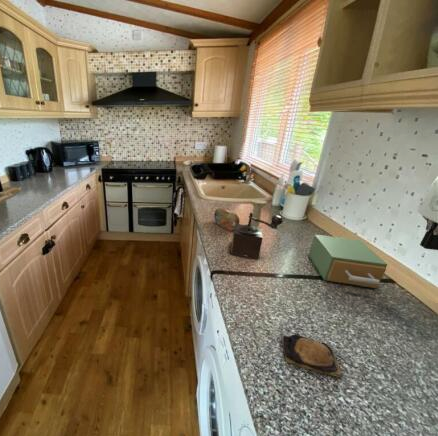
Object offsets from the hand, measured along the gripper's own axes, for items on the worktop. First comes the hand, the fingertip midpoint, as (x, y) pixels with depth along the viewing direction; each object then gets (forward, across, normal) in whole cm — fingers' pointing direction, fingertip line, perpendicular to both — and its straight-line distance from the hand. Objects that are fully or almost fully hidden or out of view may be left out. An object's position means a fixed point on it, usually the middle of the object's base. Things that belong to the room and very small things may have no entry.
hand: (429, 247), depth 59 cm
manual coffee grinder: (+21, -24, -35) cm, 47 cm away
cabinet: (+21, -20, -6) cm, 30 cm away
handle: (+21, -45, -32) cm, 59 cm away
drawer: (+20, -16, -6) cm, 26 cm away
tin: (+21, -47, -44) cm, 68 cm away
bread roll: (+21, +21, -27) cm, 40 cm away
